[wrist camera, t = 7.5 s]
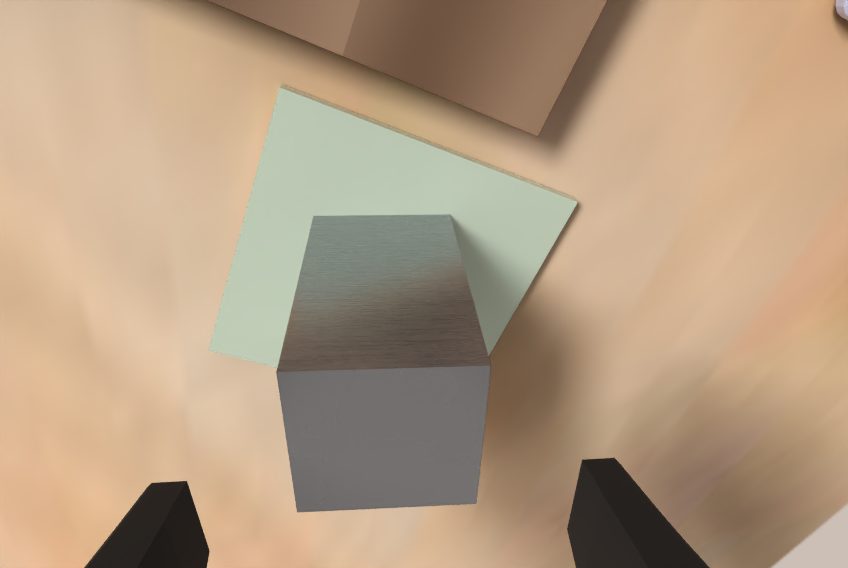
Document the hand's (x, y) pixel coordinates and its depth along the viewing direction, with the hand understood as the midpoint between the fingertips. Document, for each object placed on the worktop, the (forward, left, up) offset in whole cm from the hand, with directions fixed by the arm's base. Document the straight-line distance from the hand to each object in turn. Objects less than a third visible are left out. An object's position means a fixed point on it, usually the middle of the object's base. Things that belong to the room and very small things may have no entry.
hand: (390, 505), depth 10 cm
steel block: (0, 0, -8) cm, 8 cm away
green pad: (0, 0, -9) cm, 9 cm away
